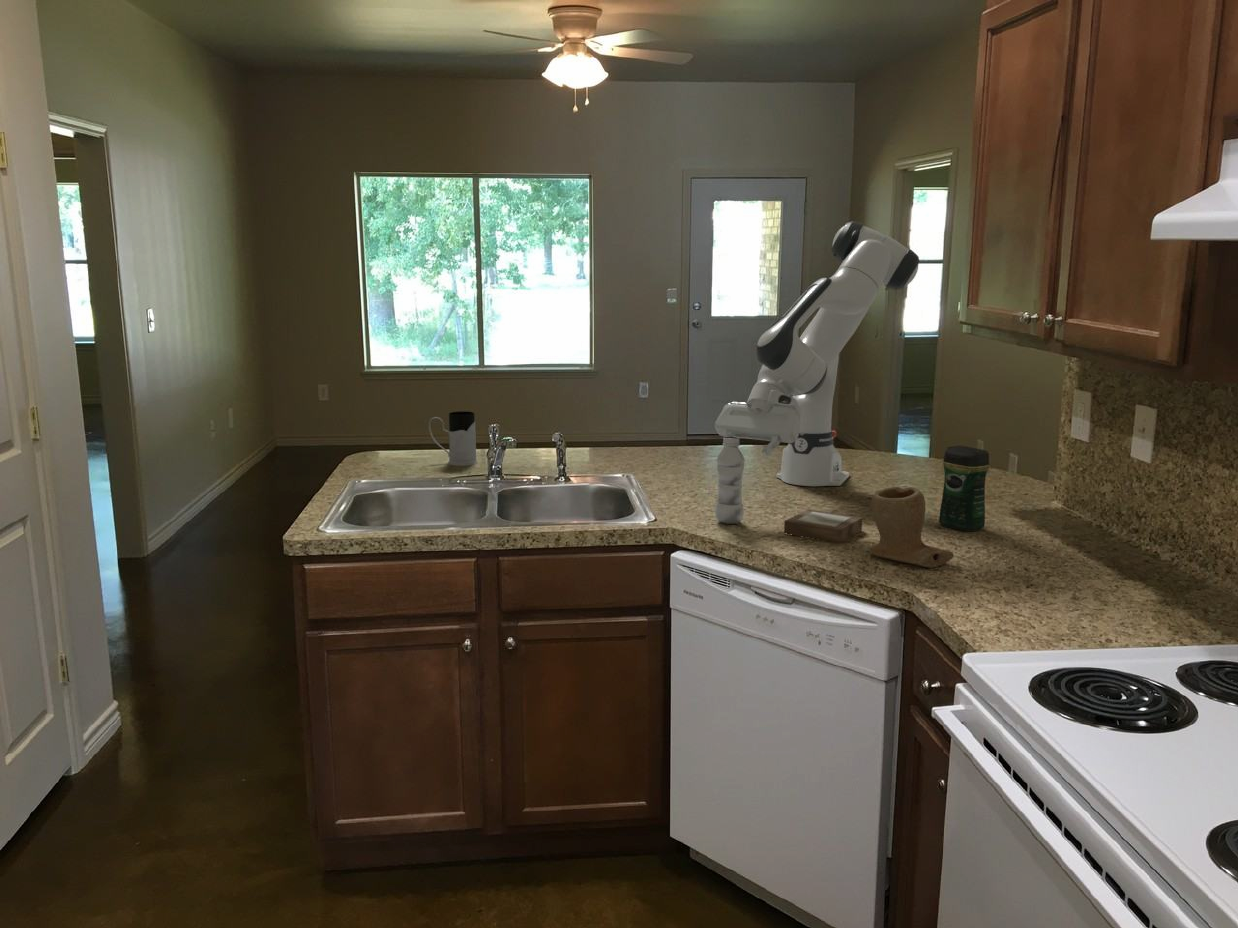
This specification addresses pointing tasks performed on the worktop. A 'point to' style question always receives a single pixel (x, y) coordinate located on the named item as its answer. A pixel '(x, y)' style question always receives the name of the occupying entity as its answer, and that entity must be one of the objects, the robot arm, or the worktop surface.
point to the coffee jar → (964, 488)
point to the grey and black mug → (460, 438)
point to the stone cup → (903, 528)
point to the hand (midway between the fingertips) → (746, 451)
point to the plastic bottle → (730, 482)
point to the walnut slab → (823, 525)
